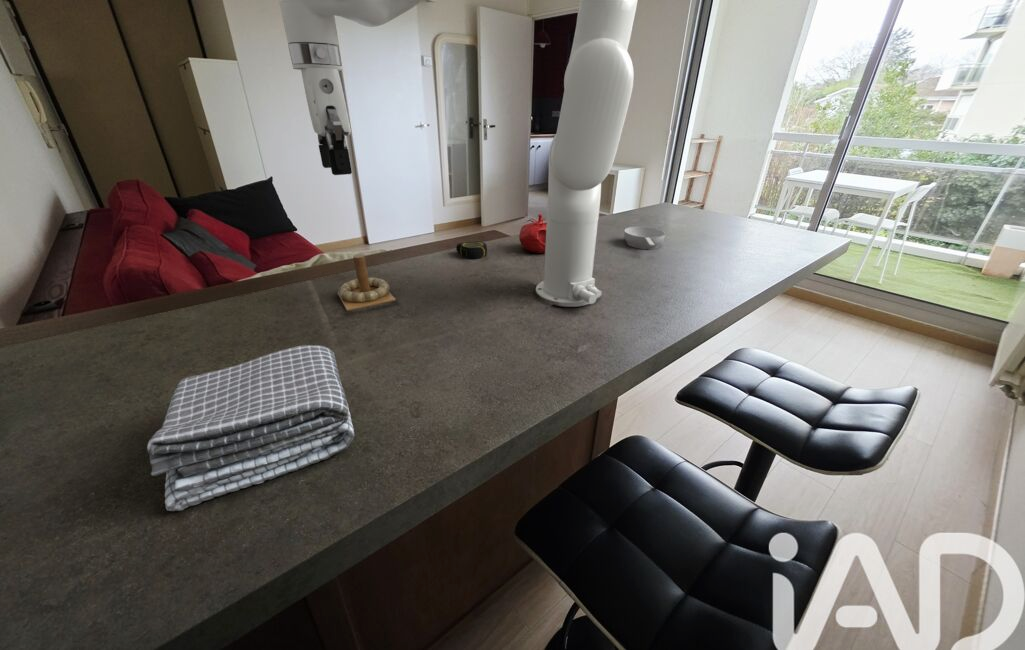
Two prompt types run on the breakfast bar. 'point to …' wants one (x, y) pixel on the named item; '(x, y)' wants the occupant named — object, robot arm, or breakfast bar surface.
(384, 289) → the beige beaded ring
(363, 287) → the ring toss peg
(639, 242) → the small pan
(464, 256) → the tape measure
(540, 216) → the pomegranate
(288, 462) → the towel
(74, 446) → the breakfast bar surface
